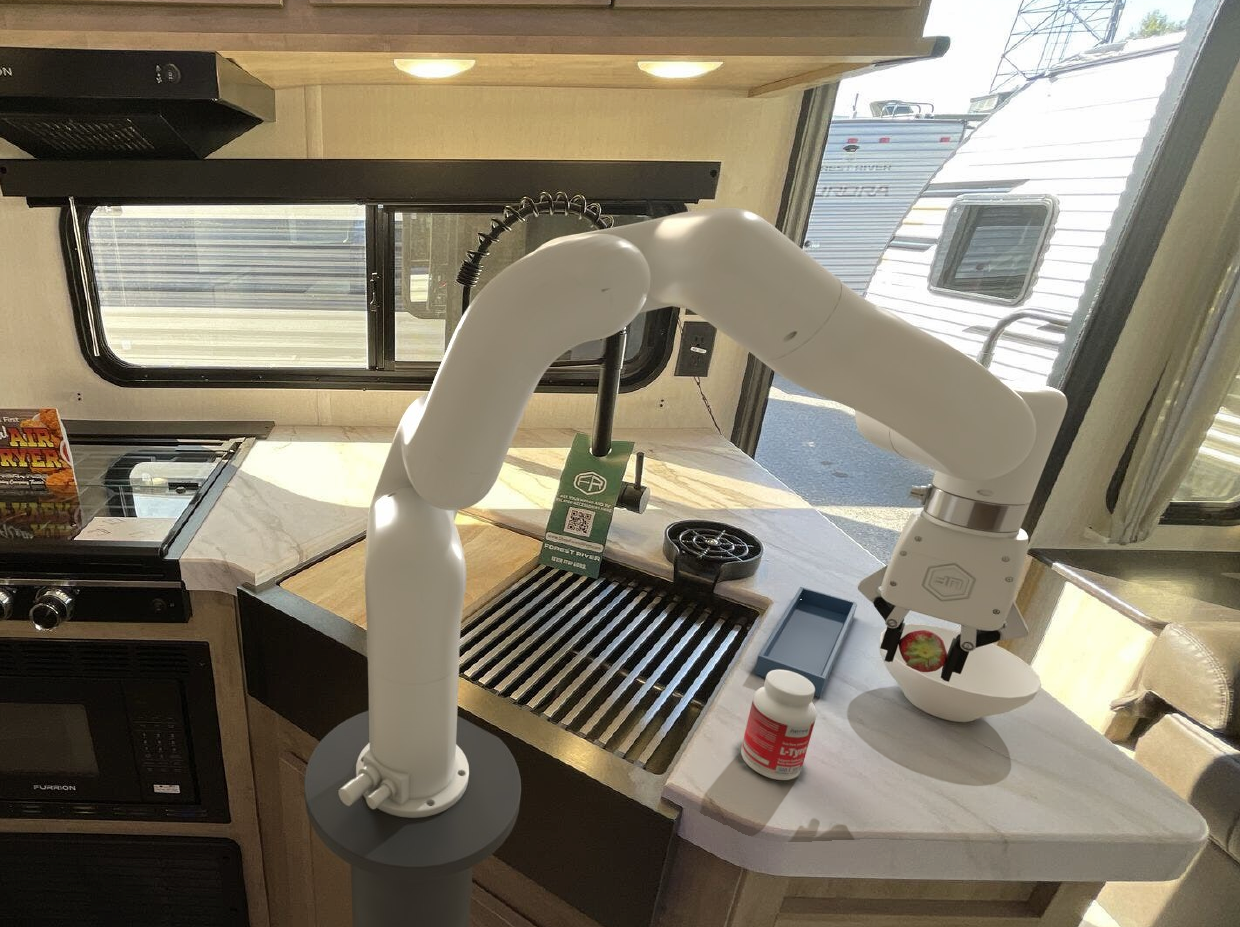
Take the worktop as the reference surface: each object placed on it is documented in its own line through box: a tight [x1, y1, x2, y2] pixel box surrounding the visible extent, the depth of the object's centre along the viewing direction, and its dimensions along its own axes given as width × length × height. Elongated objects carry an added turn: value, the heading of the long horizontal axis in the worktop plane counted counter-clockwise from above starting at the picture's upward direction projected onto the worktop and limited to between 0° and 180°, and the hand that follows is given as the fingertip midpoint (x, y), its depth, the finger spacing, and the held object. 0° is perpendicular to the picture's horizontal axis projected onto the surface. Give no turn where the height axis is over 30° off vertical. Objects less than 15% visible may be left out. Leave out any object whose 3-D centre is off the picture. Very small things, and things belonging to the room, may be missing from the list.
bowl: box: [878, 623, 1042, 723], centre depth 84 cm, size 16×16×7 cm
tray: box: [753, 586, 858, 699], centre depth 97 cm, size 26×8×3 cm, turn 139°
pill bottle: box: [740, 670, 817, 781], centre depth 73 cm, size 6×6×11 cm
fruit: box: [899, 630, 947, 672], centre depth 70 cm, size 4×6×5 cm
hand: (917, 664), depth 71 cm, fingers closed on fruit, 4 cm apart
